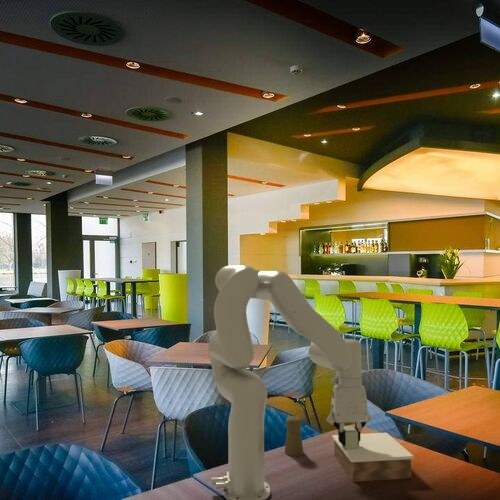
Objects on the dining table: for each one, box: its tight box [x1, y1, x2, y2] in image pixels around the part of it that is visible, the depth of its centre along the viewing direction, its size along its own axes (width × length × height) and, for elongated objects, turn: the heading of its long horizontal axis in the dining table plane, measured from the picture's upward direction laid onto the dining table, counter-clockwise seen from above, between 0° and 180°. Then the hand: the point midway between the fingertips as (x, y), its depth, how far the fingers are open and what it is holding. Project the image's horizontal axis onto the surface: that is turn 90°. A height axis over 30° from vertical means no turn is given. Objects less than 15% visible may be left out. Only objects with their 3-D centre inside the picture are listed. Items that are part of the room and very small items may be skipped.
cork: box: [284, 415, 304, 457], centre depth 144 cm, size 6×6×11 cm
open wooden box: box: [333, 440, 412, 483], centre depth 134 cm, size 17×17×6 cm
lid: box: [331, 425, 414, 462], centre depth 134 cm, size 18×18×6 cm
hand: (349, 443), depth 133 cm, fingers closed on lid, 3 cm apart
